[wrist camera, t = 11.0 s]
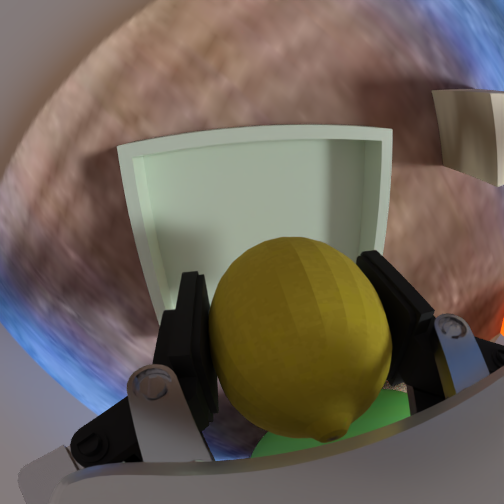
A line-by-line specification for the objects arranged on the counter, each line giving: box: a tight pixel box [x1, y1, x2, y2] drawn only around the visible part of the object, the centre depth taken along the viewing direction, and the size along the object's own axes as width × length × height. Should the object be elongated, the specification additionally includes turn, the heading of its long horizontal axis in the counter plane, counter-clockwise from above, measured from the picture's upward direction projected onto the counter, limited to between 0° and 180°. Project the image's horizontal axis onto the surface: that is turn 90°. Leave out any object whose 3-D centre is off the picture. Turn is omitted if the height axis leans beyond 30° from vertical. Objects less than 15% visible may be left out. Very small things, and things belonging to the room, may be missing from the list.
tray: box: [117, 124, 392, 325], centre depth 14 cm, size 12×12×2 cm
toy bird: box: [251, 389, 410, 458], centre depth 18 cm, size 18×17×15 cm
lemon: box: [208, 237, 392, 443], centre depth 9 cm, size 6×6×8 cm
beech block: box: [431, 89, 504, 187], centre depth 11 cm, size 5×5×5 cm
